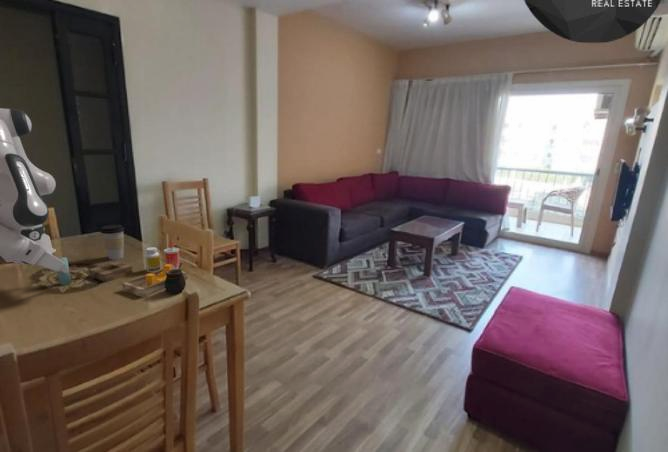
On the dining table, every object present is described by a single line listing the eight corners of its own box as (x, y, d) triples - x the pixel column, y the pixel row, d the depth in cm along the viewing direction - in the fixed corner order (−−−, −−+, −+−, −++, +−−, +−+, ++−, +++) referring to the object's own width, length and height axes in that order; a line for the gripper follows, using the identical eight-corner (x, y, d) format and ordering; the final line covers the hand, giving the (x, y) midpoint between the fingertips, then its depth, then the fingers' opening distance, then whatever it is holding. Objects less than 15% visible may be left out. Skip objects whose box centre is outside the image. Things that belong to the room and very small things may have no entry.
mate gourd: (160, 294, 128) (158, 269, 125) (172, 286, 135) (170, 262, 132) (179, 296, 127) (176, 270, 124) (190, 287, 134) (188, 263, 132)
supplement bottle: (163, 269, 150) (161, 248, 148) (151, 273, 146) (149, 251, 143) (155, 266, 153) (153, 245, 151) (143, 270, 149) (141, 249, 146)
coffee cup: (117, 261, 157) (113, 230, 154) (99, 260, 159) (94, 228, 155) (132, 255, 166) (128, 224, 163) (114, 253, 168) (110, 223, 164)
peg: (57, 283, 133) (53, 259, 131) (68, 280, 136) (63, 256, 134) (62, 285, 132) (58, 261, 129) (73, 282, 135) (69, 258, 132)
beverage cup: (177, 272, 148) (174, 240, 145) (162, 271, 148) (159, 240, 145) (183, 266, 154) (180, 236, 151) (169, 266, 154) (166, 236, 151)
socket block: (89, 276, 141) (88, 269, 140) (116, 267, 151) (115, 261, 150) (105, 281, 136) (104, 274, 136) (132, 272, 146) (131, 266, 145)
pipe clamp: (164, 278, 142) (162, 263, 140) (173, 279, 141) (172, 264, 139) (143, 290, 130) (141, 274, 129) (153, 292, 130) (151, 275, 128)
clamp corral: (123, 290, 130) (122, 283, 129) (168, 273, 146) (167, 266, 146) (142, 297, 125) (141, 289, 124) (187, 279, 141) (186, 272, 141)
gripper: (2, 253, 124) (40, 270, 134) (31, 264, 115) (69, 281, 125) (15, 238, 126) (51, 256, 137) (44, 248, 117) (80, 266, 128)
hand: (60, 268), depth 131 cm, fingers open, 8 cm apart
